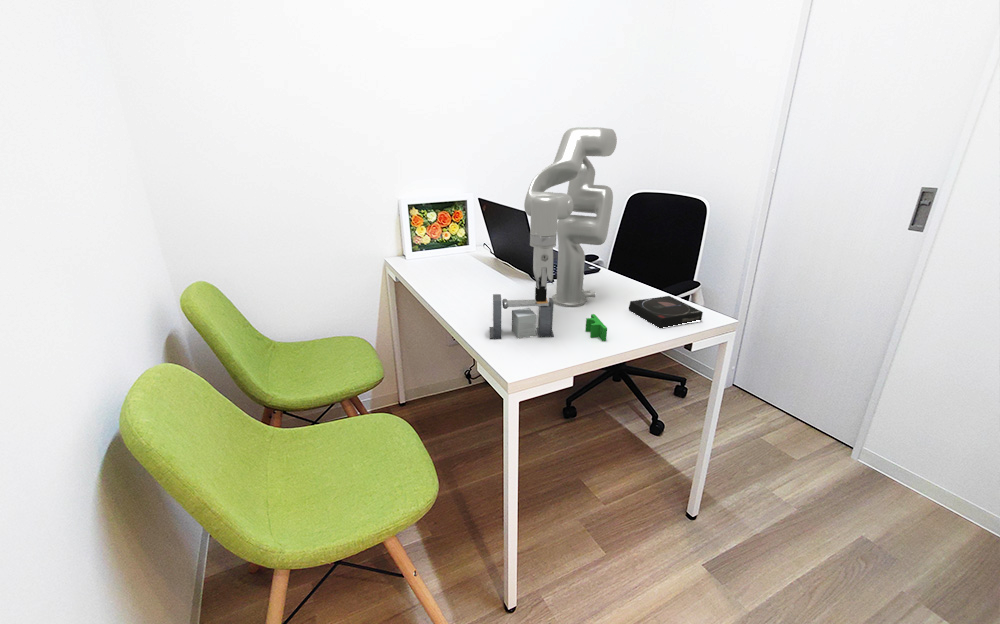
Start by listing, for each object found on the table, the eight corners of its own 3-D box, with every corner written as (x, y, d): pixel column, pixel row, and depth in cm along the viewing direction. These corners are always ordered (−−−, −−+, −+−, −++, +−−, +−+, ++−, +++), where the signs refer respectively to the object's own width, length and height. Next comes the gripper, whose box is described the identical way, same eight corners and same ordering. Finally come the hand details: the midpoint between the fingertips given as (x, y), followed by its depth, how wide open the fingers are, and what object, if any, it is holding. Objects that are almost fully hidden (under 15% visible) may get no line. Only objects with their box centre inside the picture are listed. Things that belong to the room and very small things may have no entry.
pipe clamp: (582, 327, 143) (583, 314, 141) (593, 327, 144) (594, 313, 142) (594, 342, 133) (595, 328, 131) (606, 341, 133) (607, 327, 132)
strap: (546, 302, 137) (546, 296, 136) (548, 307, 133) (548, 301, 132) (502, 303, 137) (502, 298, 136) (502, 308, 133) (502, 303, 132)
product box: (511, 331, 140) (511, 309, 137) (529, 328, 142) (529, 307, 139) (517, 339, 135) (518, 316, 132) (536, 336, 136) (537, 314, 134)
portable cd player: (666, 305, 162) (667, 295, 160) (700, 323, 147) (702, 312, 145) (628, 311, 157) (629, 300, 155) (659, 330, 142) (661, 318, 140)
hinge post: (500, 328, 142) (500, 293, 137) (501, 339, 134) (501, 302, 130) (489, 328, 142) (489, 293, 137) (489, 339, 134) (489, 302, 130)
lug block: (551, 329, 141) (552, 296, 137) (553, 337, 136) (555, 303, 132) (536, 329, 141) (537, 296, 137) (538, 337, 136) (539, 303, 132)
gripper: (560, 246, 120) (556, 309, 127) (552, 235, 134) (549, 292, 141) (532, 246, 120) (530, 309, 127) (527, 235, 134) (526, 292, 141)
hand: (540, 300), depth 134 cm, fingers closed
